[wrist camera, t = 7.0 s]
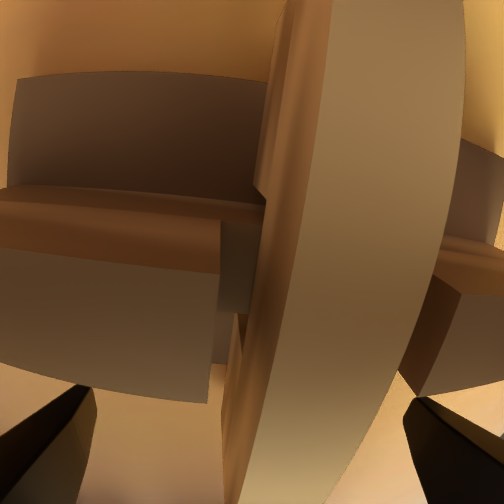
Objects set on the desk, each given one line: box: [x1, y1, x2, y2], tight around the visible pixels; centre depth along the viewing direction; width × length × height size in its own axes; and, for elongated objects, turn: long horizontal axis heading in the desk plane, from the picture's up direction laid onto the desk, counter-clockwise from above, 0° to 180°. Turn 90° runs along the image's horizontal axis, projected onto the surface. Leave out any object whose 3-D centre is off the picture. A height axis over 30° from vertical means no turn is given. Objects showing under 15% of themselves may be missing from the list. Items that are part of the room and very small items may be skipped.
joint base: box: [0, 71, 504, 404], centre depth 7 cm, size 8×16×6 cm, turn 82°
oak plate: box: [221, 0, 465, 504], centre depth 6 cm, size 12×2×5 cm, turn 172°
